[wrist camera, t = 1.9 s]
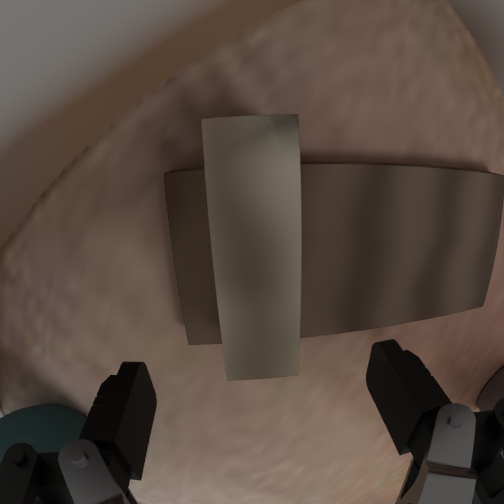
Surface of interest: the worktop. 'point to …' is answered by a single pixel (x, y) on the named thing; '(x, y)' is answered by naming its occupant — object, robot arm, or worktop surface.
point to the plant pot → (40, 428)
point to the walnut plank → (358, 245)
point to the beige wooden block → (255, 240)
